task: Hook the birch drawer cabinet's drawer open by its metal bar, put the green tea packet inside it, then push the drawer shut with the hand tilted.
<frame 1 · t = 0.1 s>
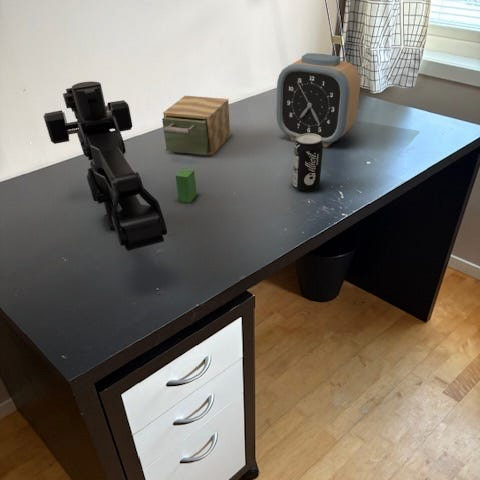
hand: (83, 111, 114), 17 cm above the table, tool horizontal, fingers open, 9 cm apart
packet: (187, 198, 115), on the table
alarm clock: (313, 139, 139), on the table
drawer: (191, 131, 133), point 5 cm above the table, slide at 1.0 cm
beverage can: (305, 187, 117), on the table
cabinet: (200, 143, 140), on the table
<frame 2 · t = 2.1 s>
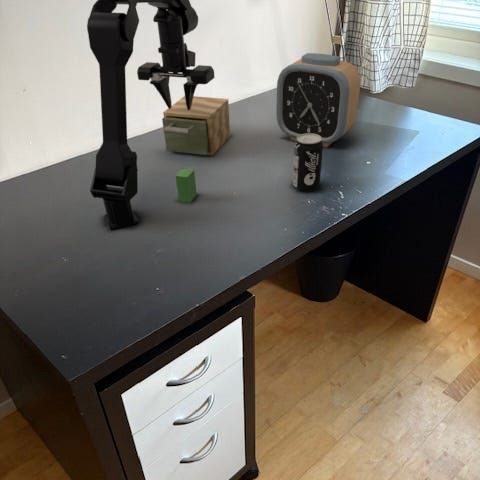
hand: (179, 108, 124), 13 cm above the table, tool pointing down, fingers open, 5 cm apart
nothing on the table moved.
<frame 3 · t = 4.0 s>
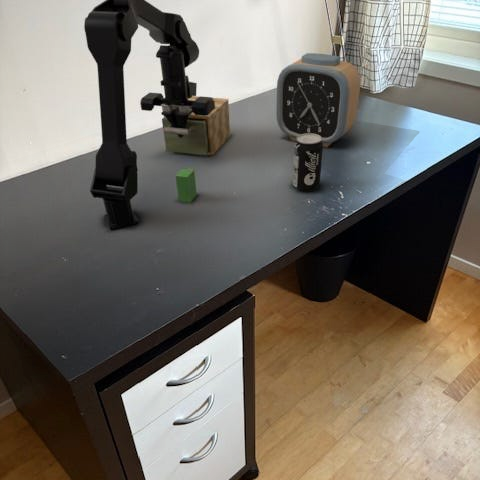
hand: (181, 137, 128), 6 cm above the table, tool pointing down, fingers closed, pressing on drawer
drawer: (190, 131, 132), point 5 cm above the table, slide at 1.2 cm, touching gripper
everything else where it was.
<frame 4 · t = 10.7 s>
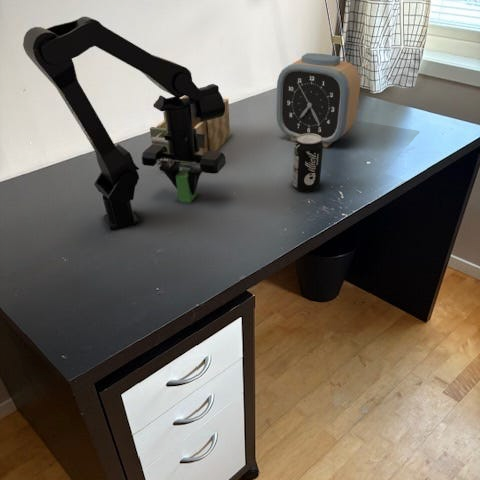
hand: (187, 193, 114), 1 cm above the table, tool pointing down, fingers closed on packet, 3 cm apart
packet: (187, 198, 115), on the table, touching gripper
drawer: (180, 141, 128), point 5 cm above the table, slide at 8.3 cm
everything else where it was.
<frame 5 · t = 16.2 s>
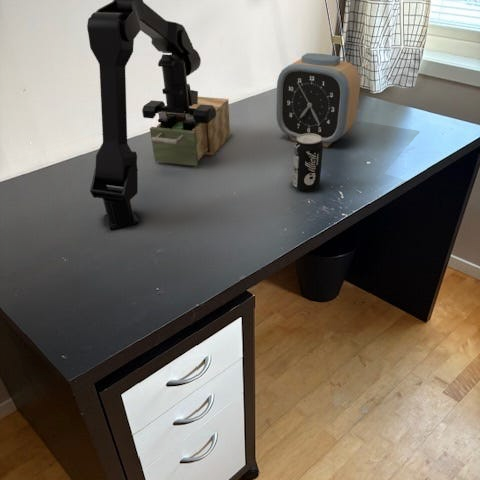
hand: (182, 144, 129), 4 cm above the table, tool pointing down, fingers closed on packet, 3 cm apart
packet: (183, 148, 130), point 3 cm above the table, touching gripper
everything else where it was.
when the fingers open (6 cm above the table, at t = 19.4 s): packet stays where it is, resting on drawer.
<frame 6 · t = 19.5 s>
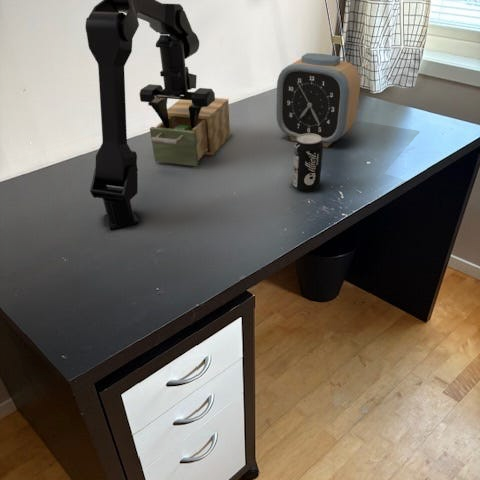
hand: (180, 129, 126), 8 cm above the table, tool pointing down, fingers open, 7 cm apart
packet: (183, 151, 130), point 2 cm above the table, touching drawer
drawer: (180, 141, 128), point 5 cm above the table, slide at 8.3 cm, touching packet
everything else where it was.
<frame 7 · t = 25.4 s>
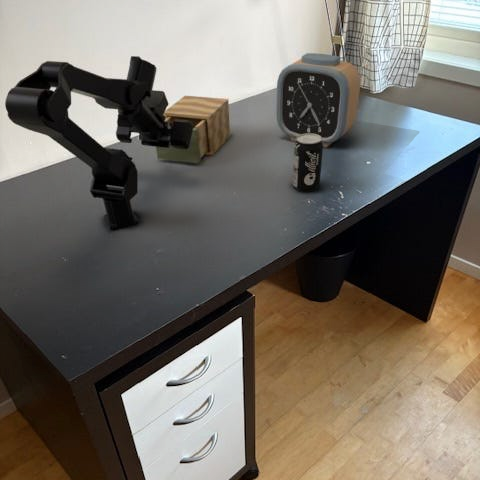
hand: (168, 146, 122), 7 cm above the table, tool tilted 45°, fingers closed, pressing on drawer
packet: (186, 149, 132), point 2 cm above the table, touching drawer
drawer: (183, 138, 129), point 5 cm above the table, slide at 6.5 cm, touching gripper, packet
everything else where it was.
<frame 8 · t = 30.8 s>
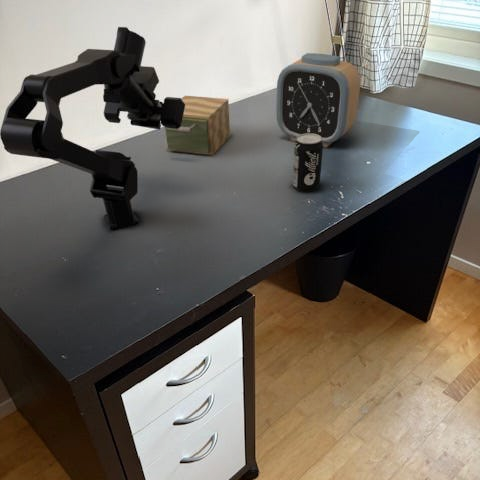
hand: (159, 127, 116), 13 cm above the table, tool tilted 45°, fingers closed
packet: (195, 140, 136), point 2 cm above the table, touching drawer
drawer: (192, 129, 133), point 5 cm above the table, slide at 0.0 cm, touching cabinet, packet
everything else where it was.
at the end: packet inside the target area in the cabinet (0.6 cm from its centre), point 2.0 cm above the cabinet's base; drawer slide at 0.0 cm; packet tilted 0° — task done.
